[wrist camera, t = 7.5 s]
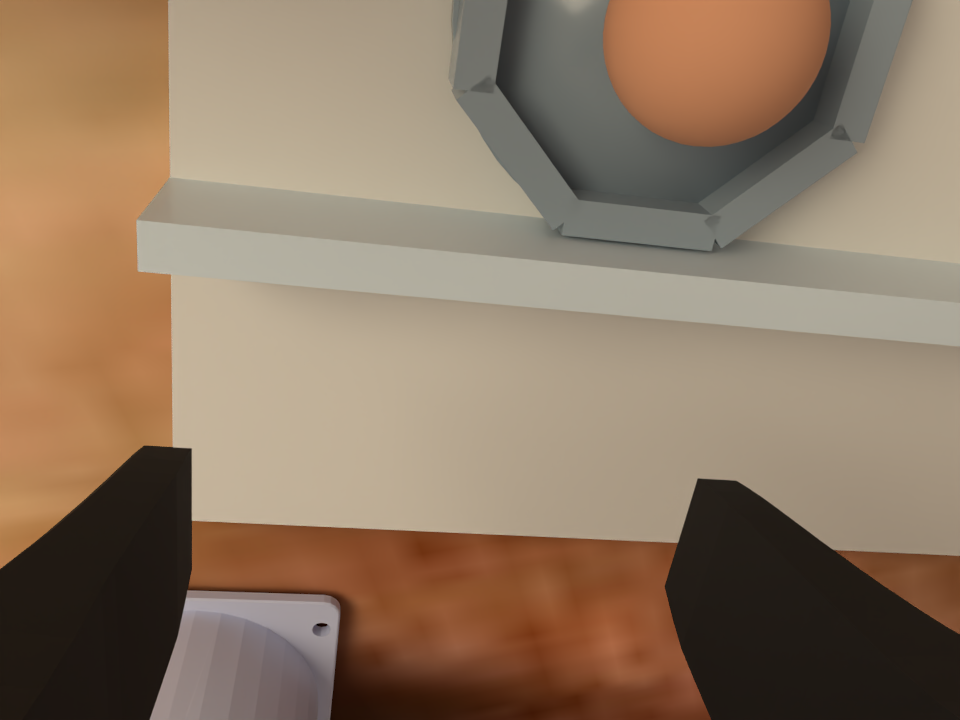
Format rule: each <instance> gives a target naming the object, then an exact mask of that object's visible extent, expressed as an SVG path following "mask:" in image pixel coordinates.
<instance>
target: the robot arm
mask: <svg viewBox="0 0 960 720" xmlns="http://www.w3.org/2000/svg"><path fill="white" fill-rule="evenodd" d="M191 570H192V448H177V447H160V446H143V447H142V448H141V449H139V450H138V451H137V452H136V453H134V454H133V455H132V456H131V457H130V458H129V459H128V460H127V461H126V462H125V463H124V464H123V465H122V466H121V467H119V468H118V469H117V470H116V471H115V472H114V473H113V474H112V475H111V476H110V477H109V478H108V479H107V480H106V481H105V482H103V483H102V484H101V485H100V486H99V487H98V488H97V489H96V490H95V491H94V492H93V493H91V494H90V495H89V496H88V497H87V498H86V499H85V500H84V501H83V502H82V503H80V504H79V505H78V506H77V507H76V508H75V509H73V510H72V511H71V512H70V513H69V514H68V515H67V516H65V517H64V518H63V519H62V520H61V521H60V522H58V523H57V524H56V525H55V526H54V527H53V528H51V529H50V530H49V531H48V532H47V533H46V534H44V535H43V536H42V537H41V538H40V539H38V540H37V541H36V542H35V543H33V544H32V545H31V546H29V547H28V548H27V549H26V550H24V551H23V552H22V553H20V554H19V555H18V556H17V557H15V558H14V559H13V560H11V561H10V562H9V563H7V564H6V565H5V566H4V567H2V568H1V569H0V720H330V715H331V705H332V695H333V685H334V674H335V664H336V654H337V644H338V634H339V623H340V603H339V602H338V601H337V599H335V598H333V597H332V596H328V595H314V594H284V593H253V592H223V591H192V590H188V585H189V580H190V575H191ZM665 589H666V593H667V597H668V601H669V605H670V609H671V613H672V617H673V621H674V625H675V628H676V631H677V635H678V638H679V642H680V645H681V648H682V651H683V653H684V656H685V658H686V661H687V663H688V666H689V668H690V670H691V673H692V675H693V678H694V680H695V682H696V685H697V687H698V689H699V692H700V694H701V696H702V699H703V701H704V703H705V706H706V708H707V710H708V713H709V715H710V717H711V720H960V634H958V633H956V632H954V631H953V630H951V629H949V628H948V627H946V626H944V625H943V624H941V623H939V622H938V621H936V620H935V619H933V618H931V617H930V616H928V615H927V614H925V613H923V612H922V611H920V610H919V609H917V608H916V607H914V606H913V605H911V604H910V603H908V602H907V601H905V600H904V599H902V598H901V597H899V596H898V595H896V594H895V593H893V592H892V591H890V590H889V589H887V588H886V587H884V586H883V585H881V584H880V583H879V582H877V581H876V580H874V579H873V578H871V577H870V576H869V575H867V574H866V573H864V572H863V571H862V570H860V569H859V568H857V567H856V566H855V565H853V564H852V563H850V562H849V561H848V560H846V559H845V558H843V557H842V556H841V555H839V554H838V553H837V552H835V551H834V550H833V549H831V548H830V547H829V546H827V545H826V544H824V543H823V542H822V541H820V540H819V539H818V538H816V537H815V536H814V535H812V534H811V533H810V532H808V531H807V530H806V529H804V528H803V527H802V526H800V525H799V524H798V523H796V522H795V521H794V520H792V519H791V518H790V517H788V516H787V515H786V514H784V513H783V512H782V511H780V510H779V509H778V508H776V507H775V506H773V505H772V504H771V503H769V502H768V501H767V500H765V499H764V498H762V497H761V496H759V495H758V494H757V493H755V492H754V491H752V490H751V489H749V488H748V487H746V486H744V485H743V484H741V483H740V482H738V481H734V480H717V479H700V478H698V479H697V482H696V486H695V489H694V492H693V496H692V499H691V502H690V505H689V509H688V512H687V515H686V518H685V522H684V525H683V528H682V532H681V535H680V538H679V541H678V545H677V548H676V551H675V555H674V558H673V561H672V564H671V568H670V571H669V574H668V578H667V581H666V584H665ZM318 623H325V624H328V625H327V626H324V627H320V626H317V625H316V624H318Z"/></svg>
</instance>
